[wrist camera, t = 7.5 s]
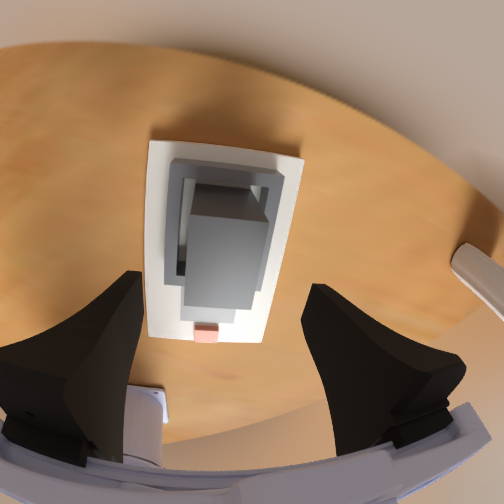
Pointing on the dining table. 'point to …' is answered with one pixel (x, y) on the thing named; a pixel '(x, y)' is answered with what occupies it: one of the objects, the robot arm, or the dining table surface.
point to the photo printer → (480, 276)
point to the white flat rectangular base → (177, 225)
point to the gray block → (224, 247)
